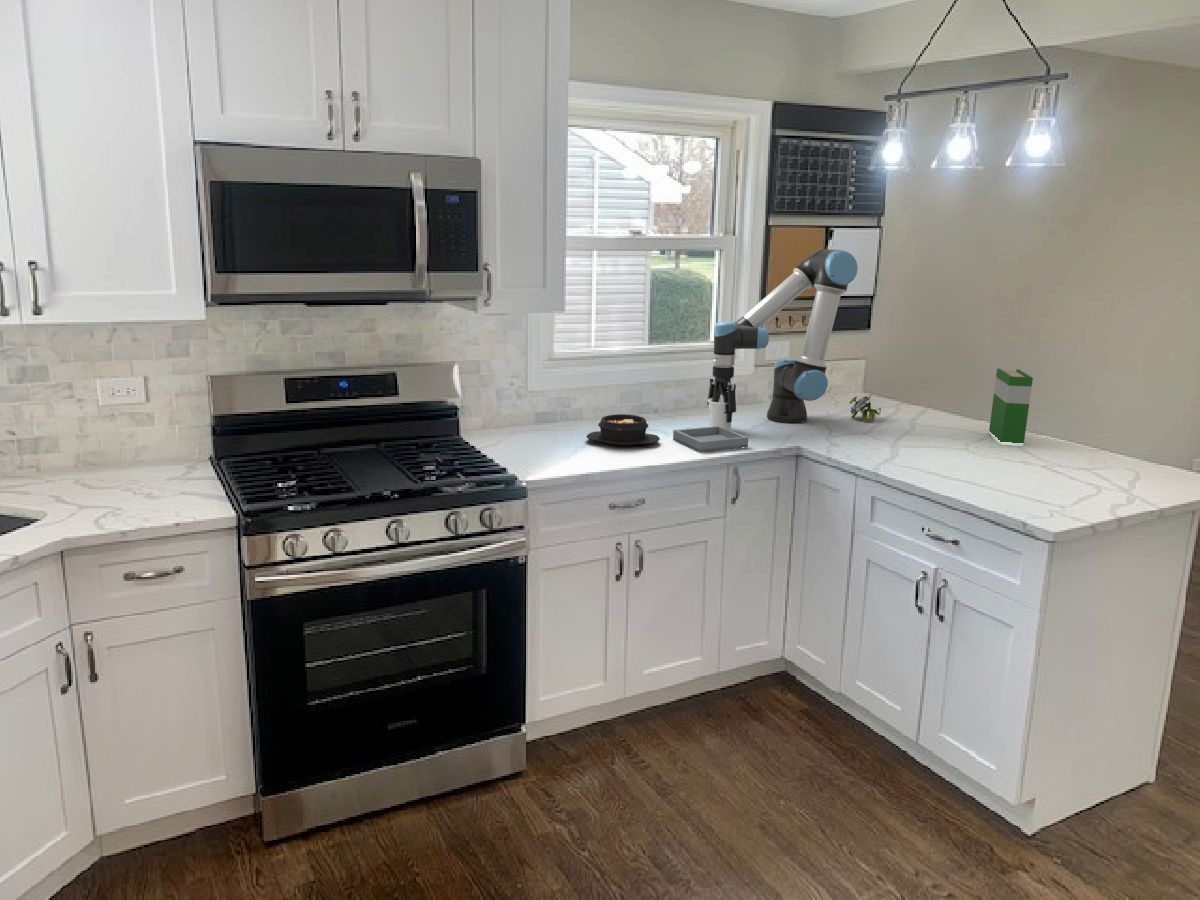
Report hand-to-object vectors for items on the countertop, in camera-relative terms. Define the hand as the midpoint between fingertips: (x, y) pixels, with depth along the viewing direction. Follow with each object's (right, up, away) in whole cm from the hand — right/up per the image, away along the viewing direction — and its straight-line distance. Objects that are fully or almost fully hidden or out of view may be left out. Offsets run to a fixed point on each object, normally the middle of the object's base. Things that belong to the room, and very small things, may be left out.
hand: (720, 427), depth 324 cm
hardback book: (+99, -5, -8) cm, 100 cm away
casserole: (-36, -6, -20) cm, 41 cm away
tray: (-6, -6, -19) cm, 21 cm away
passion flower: (+58, +4, +22) cm, 62 cm away
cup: (0, -1, 0) cm, 1 cm away
